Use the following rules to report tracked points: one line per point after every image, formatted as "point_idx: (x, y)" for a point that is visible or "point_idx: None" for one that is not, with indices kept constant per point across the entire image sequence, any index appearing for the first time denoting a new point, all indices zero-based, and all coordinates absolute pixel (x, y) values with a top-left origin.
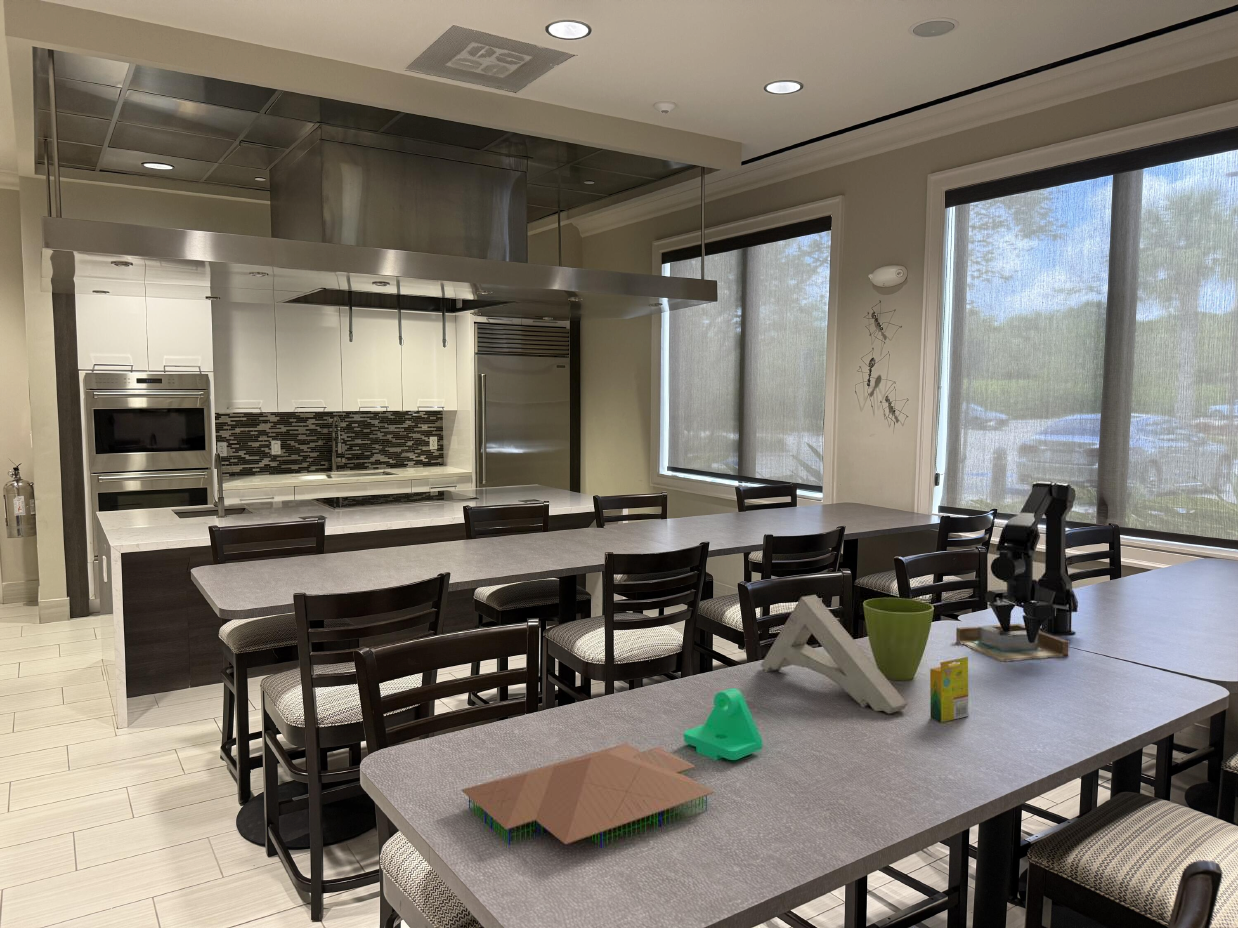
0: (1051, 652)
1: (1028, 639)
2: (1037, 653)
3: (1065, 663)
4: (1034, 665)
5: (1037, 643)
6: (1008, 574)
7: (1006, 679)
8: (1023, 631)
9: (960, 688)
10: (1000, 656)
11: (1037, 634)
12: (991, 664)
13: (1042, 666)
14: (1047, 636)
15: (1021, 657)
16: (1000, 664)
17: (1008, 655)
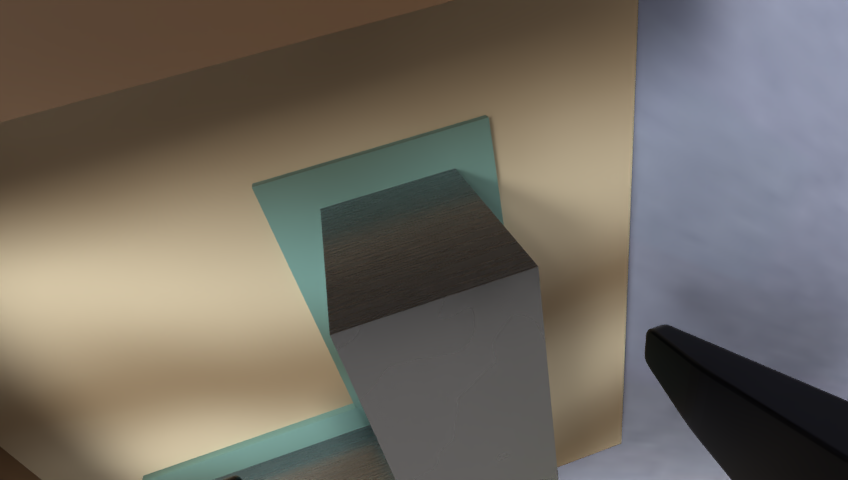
0: (552, 50)
1: (675, 394)
2: (560, 210)
3: (794, 46)
4: (733, 292)
5: (477, 200)
6: None
7: None
8: (422, 420)
9: None
10: (576, 443)
11: (526, 262)
12: (641, 467)
13: (769, 253)
14: (392, 13)
15: (623, 346)
16: (654, 437)
17: (565, 405)
